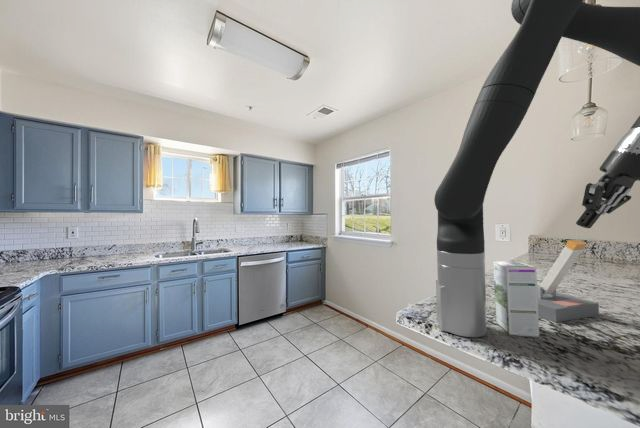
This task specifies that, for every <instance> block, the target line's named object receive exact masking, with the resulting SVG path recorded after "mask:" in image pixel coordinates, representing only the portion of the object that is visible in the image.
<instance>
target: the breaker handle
mask: <svg viewBox="0 0 640 428" xmlns="http://www.w3.org/2000/svg"><path fill="white" fill-rule="evenodd" d="M587 246H588V243H586V242H585V241H583V240H580V239H569V240H567V242H566V243H565V245H564V247H563V248H562V251H561V252H560V253H559V255H558V256H557V258H556V260H555V261H554V262H553V265H552V266H551V267H550V269H549V271H548V272H547V274H546V275H545V277H544V278H543V280H542V282H541V283H540V285H539V286H540V287H543V294H553V292H554V291H555V290H556V291H557V288H558V287H559V285H560V284H561V283H562V280H564V278H565V276H567V274H568V272H569V270H570V269H571V268H572V266H573V265H574V263H575V262H576V260H578V258H579V256H580V254H582V252H583V250H585V248H586V247H587Z"/></svg>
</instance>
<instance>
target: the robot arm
mask: <svg viewBox="0 0 640 428" xmlns="http://www.w3.org/2000/svg"><path fill="white" fill-rule="evenodd" d="M510 12H511V15H512V17H513V19H514V20H515V22H517V24H519V28H518V30H517V32H516V33H515V35H514V37H513V38H512V39H511V41H510V43H509V44H508V46H507V47H506V49H504V51H503V53H502V54H501V55H500V57H499V59H498V60H497V62H496V63H495V65H494V66H493V67H492V69H491V71H490V72H489V74H488V75H487V78H486V79H485V81H484V83H483V84H482V86H481V89H480V92H479V94H478V96H477V98H476V101H475V102H474V105H473V107H472V110H471V113H470V116H469V118H468V120H467V123H466V126H465V130H464V131H463V136H462V139H461V143H460V145H459V148H458V149H457V153H456V155H455V157H454V159H453V161H452V163H451V165H450V167H449V169H448V170H447V172H446V174H445V175H444V177H443V179H442V181H441V183H440V184H439V186H438V187H437V190H436V191H435V193H434V194H435V195H434V205H435V209H436V210H437V236H436V261H437V262H436V263H437V264H436V265H437V266H436V267H437V268H436V269H437V270H436V271H437V280H435V296H436V298H435V300H436V305H435V306H436V309H435V310H436V321H437V323H438V325H439V326H438V327H439V329H440V330H441V331H442V332H446V333H451V334H453V335H456V336H460V337H465V338H481V337H484V336H486V334H487V305H486V304H487V295H486V294H487V293H486V292H487V291H486V257H485V255H486V252H485V233H484V232H485V229H484V202H485V197H486V193H487V191H488V188H489V184H490V182H491V178H492V176H493V173H494V171H495V167H496V166H497V163H498V162H499V159H500V157H501V156H502V154H503V153H504V152H505V149H506V148H507V147H508V145H509V144H510V141H512V139H513V138H514V135H515V134H516V133H517V131H518V129H519V128H520V125H521V124H522V123H523V120H524V119H525V116H526V115H527V112H528V110H529V108H530V106H531V104H532V102H533V99H534V97H535V96H536V93H537V90H538V88H539V86H540V83H541V82H542V79H543V77H544V75H545V73H546V71H547V70H548V67H549V65H550V63H551V61H552V59H553V56H554V54H555V52H556V50H557V48H558V45H559V43H560V41H561V39H562V38H565V39H569V40H573V41H578V42H580V43H584V44H586V45H591V46H594V47H596V48H599V49H602V50H605V51H606V52H608V53H612V54H614V55H616V56H617V57H620V58H621V59H624V60H626V61H627V62H630V63H632V64H634V65H636V66H638V67H640V6H607V5H605V6H604V5H598V4H597V5H596V4H590V3H587V2H584V0H512V1H511V10H510ZM599 171H600V172H602V173H604V174H603V175H602V176H601V177H600V178H599V179H598V181H597V182H596V183H591V182H588V183H587V184H586V186H585V188H584V194H583V199H582V203H581V206H582V207H584V211H583V213H582V214H581V215H580V217H579V218H578V220H577V221H576V222H575V225H577V226H579V227H582V228H584V229H591V228H593V226H594V225H595V223H596V222H597V221H598V219H599V218H600V217H601V216H604V215H606V214H608V215H609V214H611V213H613V212H614V211H615V210H617V209H618V208H620V207H621V206H623V205H625V204H626V203H627V202H629V201H630V200H631V199H632V195H629V192H630V191H631V190H632V188H633V186H634V184H635V183H636V181H639V182H640V115H639V116H637V118H636V120H635V121H634V123H632V125H631V127H630V128H629V130H628V131H627V132H626V133H625V134H624V135H623V136H622V137H621V138H620V139H619V140H618V142H617V143H616V144H615V147H613V148H612V150H611V152H610V153H609V154H608V156H607V157H606V159H604V161H603V162H602V164H601V165H600V167H599Z"/></svg>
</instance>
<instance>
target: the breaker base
mask: <svg viewBox="0 0 640 428" xmlns="http://www.w3.org/2000/svg"><path fill="white" fill-rule="evenodd" d="M537 295H538V317H539V318H543V319H545V320H549V321H551V322H553V323H554V322H555V323H561V322H567V321H573V320H580V319H586V318H587V319H588V318H591V317H597V316H598V317H599V316H600V312H599V311H600V308H599V307H600V306H599V302H596V301H595V302H594V301H591V300H589V299H588V300H587V299H583V298H580V297H575V296H572V295H569V294H568V295H567V294H564V293H560V292H557V289H556V290H555V291H554V292H553V294H543V287H540V285H537Z"/></svg>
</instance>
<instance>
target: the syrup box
mask: <svg viewBox="0 0 640 428" xmlns="http://www.w3.org/2000/svg"><path fill="white" fill-rule="evenodd" d="M537 274H538V272H537V267H536V266H533V265H531V264H527V263H523V262H520V261H513V260H512V261H511V260H504V261H503V260H501V261H500V260H499V261H493V285H494V311H495V312H494V313H495V324H496V325H498V326H499V327H500V328H501V329H502V330H504V331H505V332H506V333H507V334H509V335H511V336H519V337H520V336H521V337H534V338H537V337H538V338H539V337H540V324H539V323H540V322H539V320H540V317H539V316H538V295H537V286H538V277H537Z"/></svg>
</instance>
